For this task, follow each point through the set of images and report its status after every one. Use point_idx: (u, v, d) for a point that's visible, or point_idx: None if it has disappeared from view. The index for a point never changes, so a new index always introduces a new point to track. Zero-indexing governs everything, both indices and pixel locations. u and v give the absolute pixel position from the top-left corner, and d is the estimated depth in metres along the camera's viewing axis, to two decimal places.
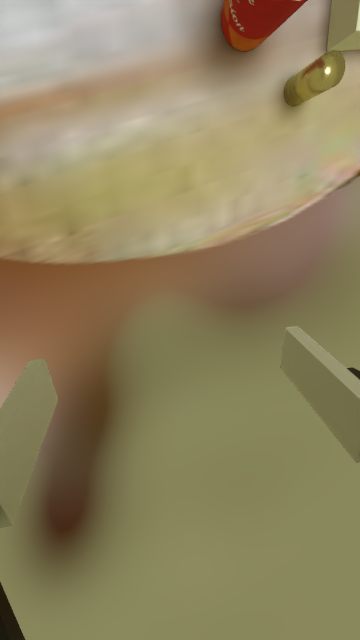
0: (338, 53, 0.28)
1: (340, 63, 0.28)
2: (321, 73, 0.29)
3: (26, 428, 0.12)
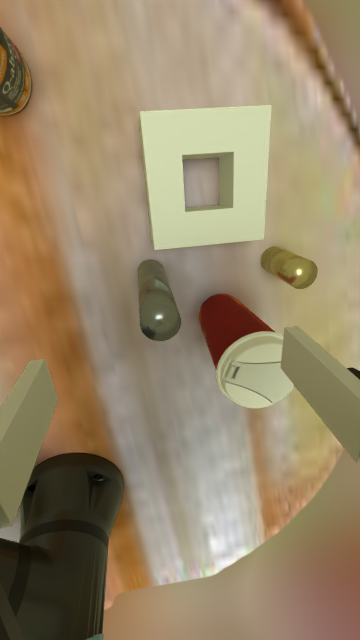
0: (292, 270, 0.28)
1: (300, 265, 0.28)
2: (304, 283, 0.29)
3: (26, 428, 0.12)
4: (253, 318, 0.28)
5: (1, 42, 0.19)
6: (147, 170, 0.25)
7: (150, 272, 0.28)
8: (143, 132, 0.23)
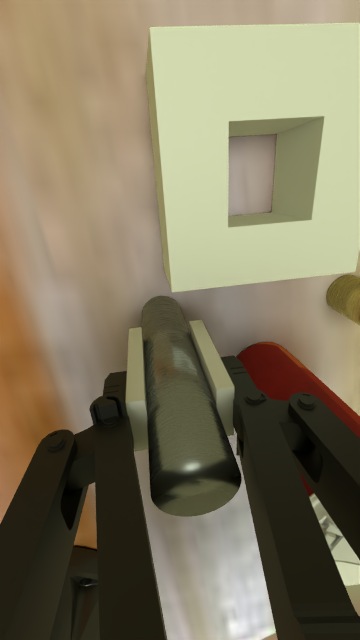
0: None
1: None
2: None
3: None
4: (340, 408, 0.16)
5: None
6: (162, 151, 0.13)
7: (163, 328, 0.16)
8: (156, 73, 0.12)
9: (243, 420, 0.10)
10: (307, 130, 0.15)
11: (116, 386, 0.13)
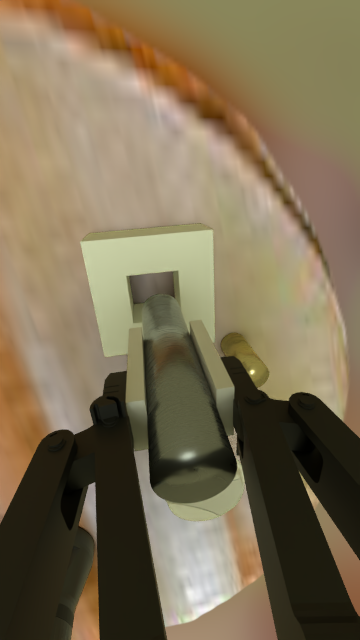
0: None
1: (251, 369, 0.28)
2: (256, 384, 0.29)
3: None
4: None
5: None
6: (92, 290, 0.25)
7: (163, 325, 0.17)
8: (85, 259, 0.24)
9: (243, 420, 0.10)
10: (176, 270, 0.27)
11: (116, 386, 0.13)
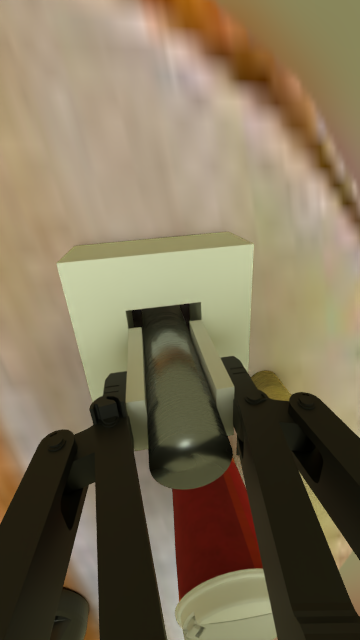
0: None
1: None
2: None
3: None
4: (231, 507, 0.20)
5: None
6: (76, 331, 0.17)
7: (162, 321, 0.17)
8: (65, 288, 0.16)
9: (243, 420, 0.10)
10: None
11: (116, 386, 0.13)
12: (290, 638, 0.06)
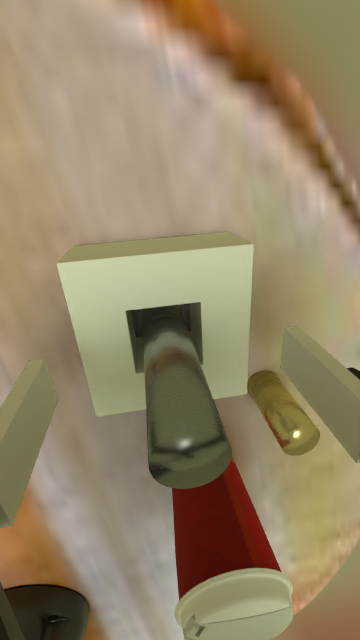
0: (286, 436, 0.21)
1: (297, 431, 0.21)
2: (302, 449, 0.22)
3: (26, 428, 0.12)
4: (231, 506, 0.20)
5: None
6: (76, 331, 0.17)
7: (162, 321, 0.17)
8: (65, 288, 0.16)
9: None
10: None
11: None
12: None
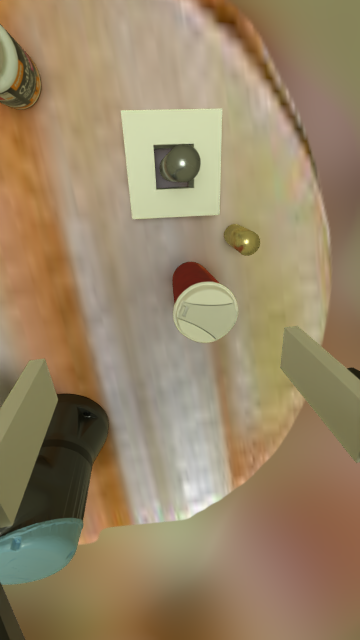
0: (239, 238, 0.36)
1: (246, 235, 0.36)
2: (249, 251, 0.37)
3: (26, 428, 0.12)
4: (207, 276, 0.36)
5: (20, 58, 0.27)
6: (126, 155, 0.32)
7: None
8: (123, 126, 0.31)
9: None
10: None
11: None
12: None
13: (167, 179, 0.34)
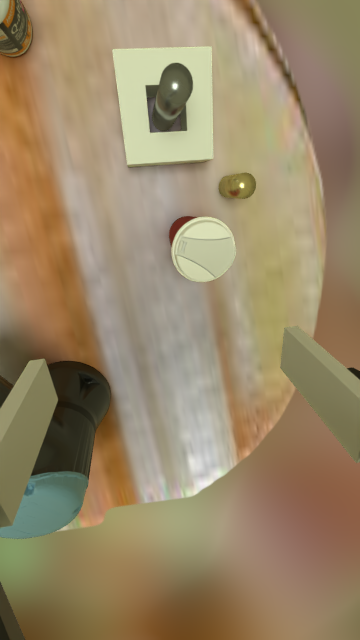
0: (236, 180, 0.36)
1: (242, 177, 0.36)
2: (245, 194, 0.37)
3: (26, 428, 0.12)
4: None
5: None
6: (119, 97, 0.33)
7: None
8: (115, 66, 0.31)
9: None
10: None
11: None
12: None
13: (160, 123, 0.35)
